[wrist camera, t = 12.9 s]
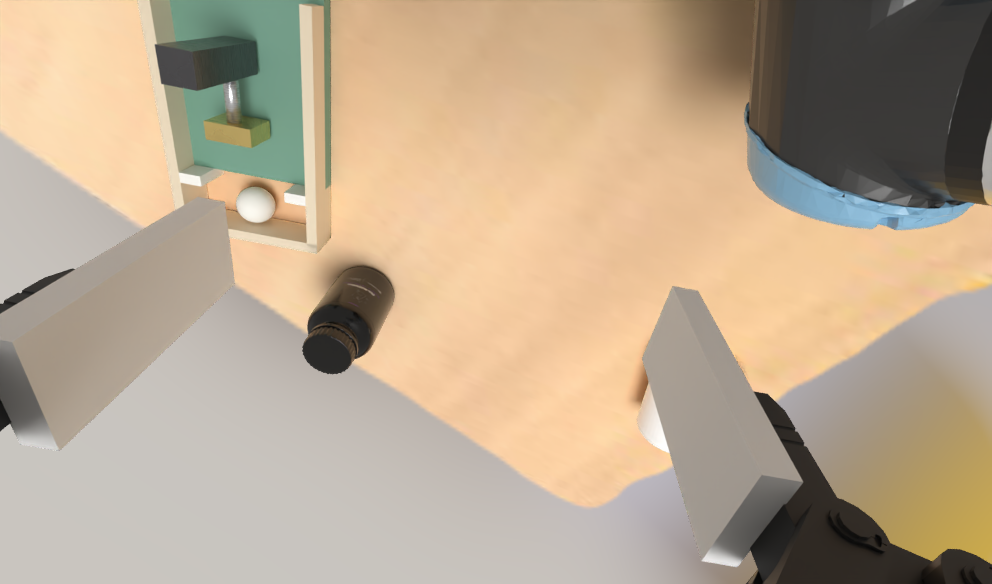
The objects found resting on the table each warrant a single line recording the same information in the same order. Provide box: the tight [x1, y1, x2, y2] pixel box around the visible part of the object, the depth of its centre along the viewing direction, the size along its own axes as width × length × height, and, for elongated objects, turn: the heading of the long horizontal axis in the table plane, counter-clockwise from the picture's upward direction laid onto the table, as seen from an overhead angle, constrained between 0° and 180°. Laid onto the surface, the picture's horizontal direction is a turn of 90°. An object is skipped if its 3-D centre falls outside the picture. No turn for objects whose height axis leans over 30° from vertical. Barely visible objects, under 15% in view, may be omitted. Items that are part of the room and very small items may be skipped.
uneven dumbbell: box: [155, 36, 270, 148], centre depth 40 cm, size 8×4×9 cm, turn 170°
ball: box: [236, 187, 276, 223], centre depth 50 cm, size 4×4×4 cm
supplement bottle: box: [302, 267, 394, 374], centre depth 51 cm, size 7×7×12 cm
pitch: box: [137, 0, 331, 254], centre depth 45 cm, size 24×14×4 cm, turn 170°
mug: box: [637, 383, 670, 453], centre depth 56 cm, size 12×10×8 cm
